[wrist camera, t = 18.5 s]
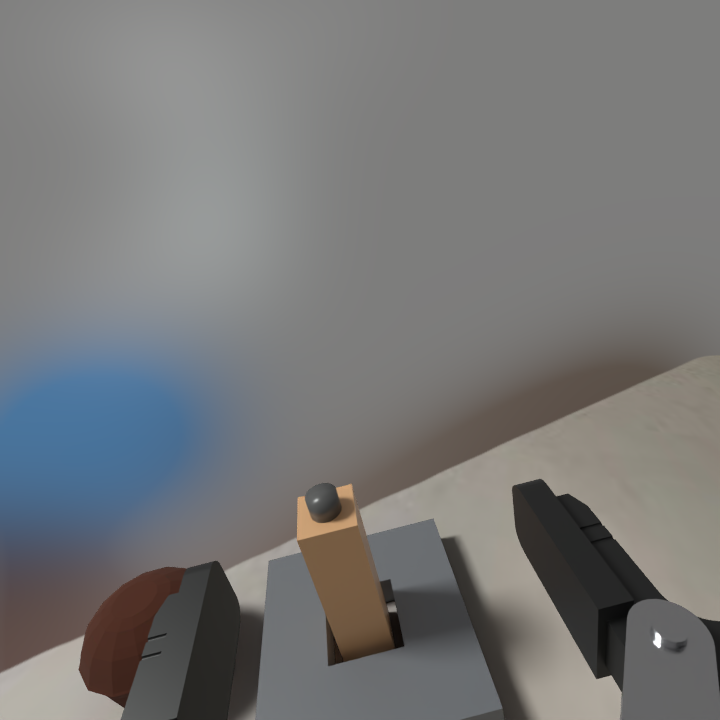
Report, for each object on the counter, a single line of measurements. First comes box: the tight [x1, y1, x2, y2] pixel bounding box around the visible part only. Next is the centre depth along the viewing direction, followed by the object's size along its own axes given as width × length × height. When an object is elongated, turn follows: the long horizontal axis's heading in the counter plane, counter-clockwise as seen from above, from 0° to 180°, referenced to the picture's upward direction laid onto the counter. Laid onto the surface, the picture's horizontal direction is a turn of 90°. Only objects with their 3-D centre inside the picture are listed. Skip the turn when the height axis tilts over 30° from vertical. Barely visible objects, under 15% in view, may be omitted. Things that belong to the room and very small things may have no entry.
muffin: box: [79, 567, 186, 708], centre depth 39 cm, size 12×11×10 cm
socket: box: [255, 519, 504, 720], centre depth 39 cm, size 18×18×3 cm
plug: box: [297, 483, 396, 662], centre depth 36 cm, size 4×4×18 cm
